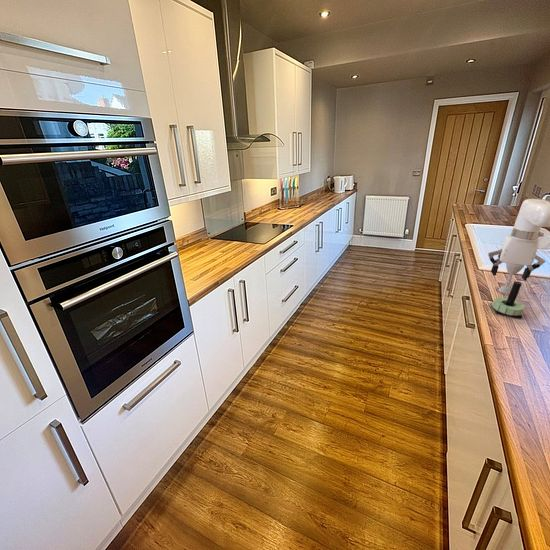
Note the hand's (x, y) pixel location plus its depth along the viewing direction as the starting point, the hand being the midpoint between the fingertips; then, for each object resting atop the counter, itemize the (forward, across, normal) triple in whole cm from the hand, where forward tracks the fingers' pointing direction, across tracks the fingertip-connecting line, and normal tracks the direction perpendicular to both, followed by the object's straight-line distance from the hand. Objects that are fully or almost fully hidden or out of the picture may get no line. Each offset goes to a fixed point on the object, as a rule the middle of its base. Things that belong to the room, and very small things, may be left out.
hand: (508, 276), depth 112 cm
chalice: (+15, -7, -20) cm, 26 cm away
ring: (+14, -3, 0) cm, 14 cm away
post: (+15, -4, 0) cm, 15 cm away
